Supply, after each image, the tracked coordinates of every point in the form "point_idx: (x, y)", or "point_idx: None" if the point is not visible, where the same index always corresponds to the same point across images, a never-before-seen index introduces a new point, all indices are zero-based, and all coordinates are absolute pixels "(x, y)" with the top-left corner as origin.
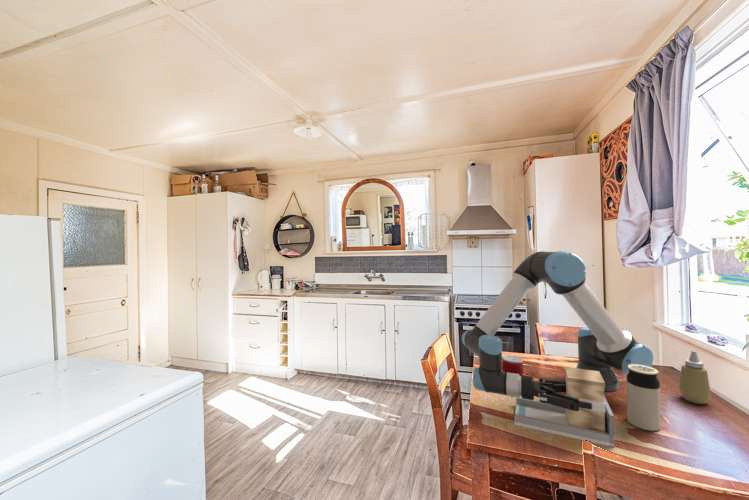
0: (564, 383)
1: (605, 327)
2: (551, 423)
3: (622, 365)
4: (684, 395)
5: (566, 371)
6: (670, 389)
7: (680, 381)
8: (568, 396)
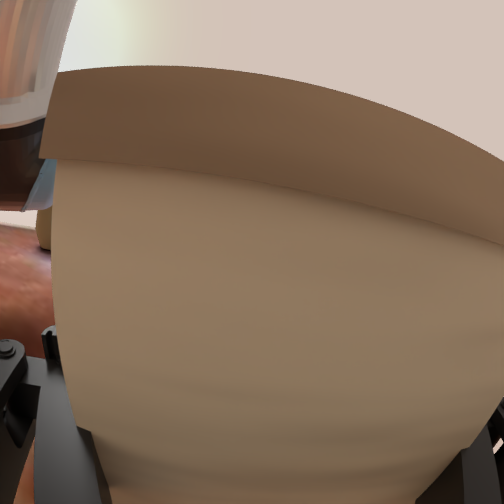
0: (3, 407)
1: (67, 11)
2: None
3: (40, 174)
4: (49, 241)
5: (395, 113)
6: (14, 245)
7: (43, 216)
8: (467, 447)
